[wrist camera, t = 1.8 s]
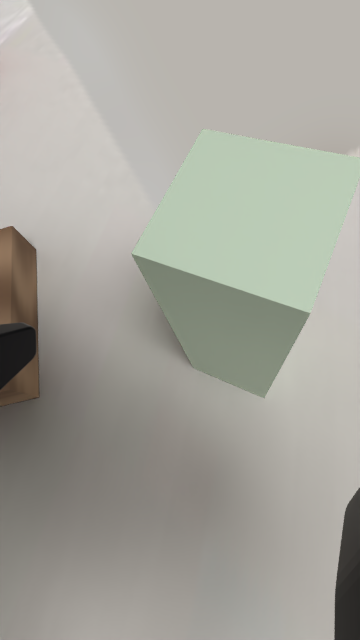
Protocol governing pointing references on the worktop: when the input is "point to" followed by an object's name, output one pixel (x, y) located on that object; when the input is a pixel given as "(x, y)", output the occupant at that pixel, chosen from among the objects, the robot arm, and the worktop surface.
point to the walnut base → (19, 307)
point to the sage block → (245, 250)
